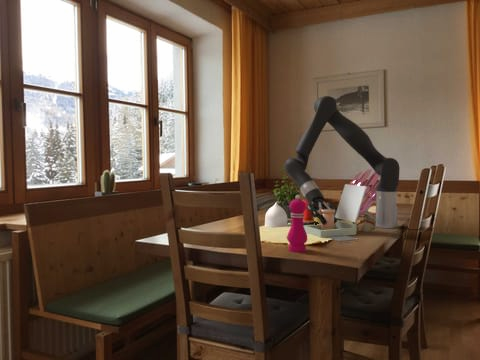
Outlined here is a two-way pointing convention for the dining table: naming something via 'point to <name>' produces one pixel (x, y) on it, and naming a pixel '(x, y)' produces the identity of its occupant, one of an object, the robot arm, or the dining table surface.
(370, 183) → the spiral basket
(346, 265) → the dining table surface
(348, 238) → the slate coaster
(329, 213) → the terracotta pot
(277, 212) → the teardrop
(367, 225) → the chocolate bunny
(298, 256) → the dining table surface
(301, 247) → the pepper mill
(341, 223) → the cold frame
